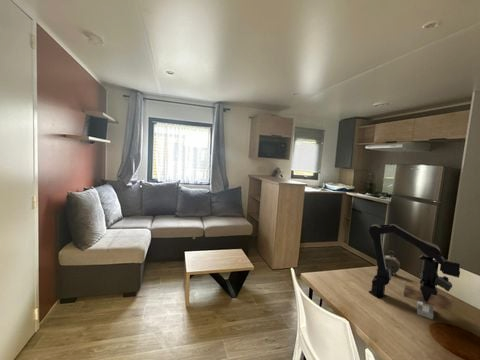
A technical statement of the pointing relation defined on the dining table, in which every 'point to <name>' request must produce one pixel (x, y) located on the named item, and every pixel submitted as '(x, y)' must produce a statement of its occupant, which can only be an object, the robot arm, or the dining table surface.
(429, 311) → the ridge stand
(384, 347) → the dining table surface
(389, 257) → the alarm clock
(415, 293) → the walnut bar
